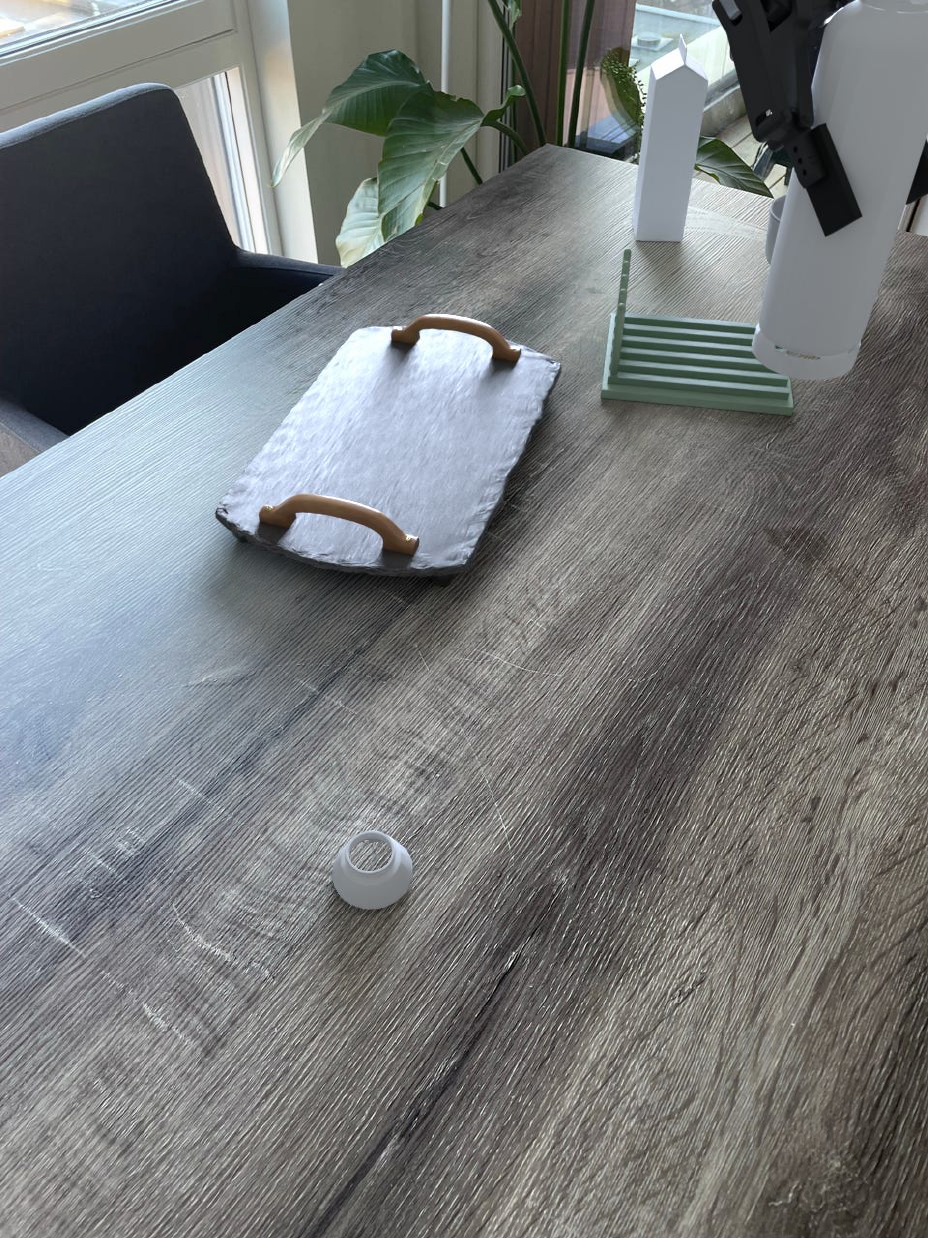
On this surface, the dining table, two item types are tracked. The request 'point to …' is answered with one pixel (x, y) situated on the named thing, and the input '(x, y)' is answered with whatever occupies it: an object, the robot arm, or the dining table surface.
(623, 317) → the rack
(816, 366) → the bottle
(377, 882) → the grey flared ring
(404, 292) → the dining table surface
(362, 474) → the serving tray
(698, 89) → the milk
